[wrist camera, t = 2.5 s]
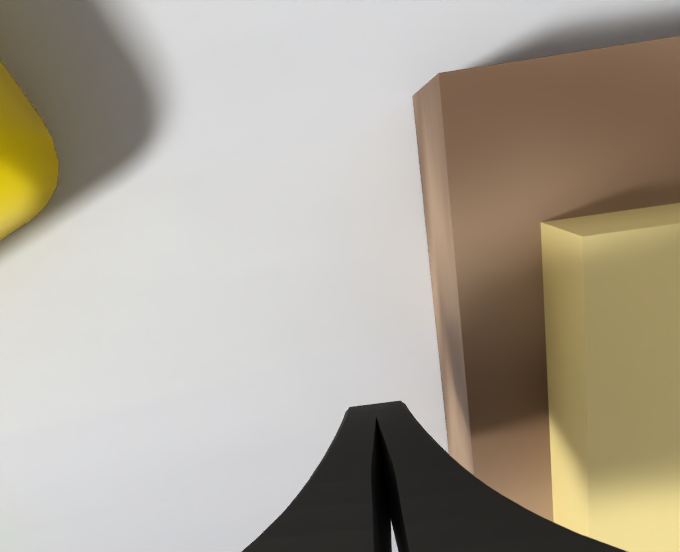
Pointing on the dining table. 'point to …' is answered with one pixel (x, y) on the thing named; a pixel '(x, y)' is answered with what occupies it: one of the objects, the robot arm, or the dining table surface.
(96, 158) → the dining table surface
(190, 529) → the dining table surface
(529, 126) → the plate
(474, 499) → the robot arm
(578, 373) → the yellow block
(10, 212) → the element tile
